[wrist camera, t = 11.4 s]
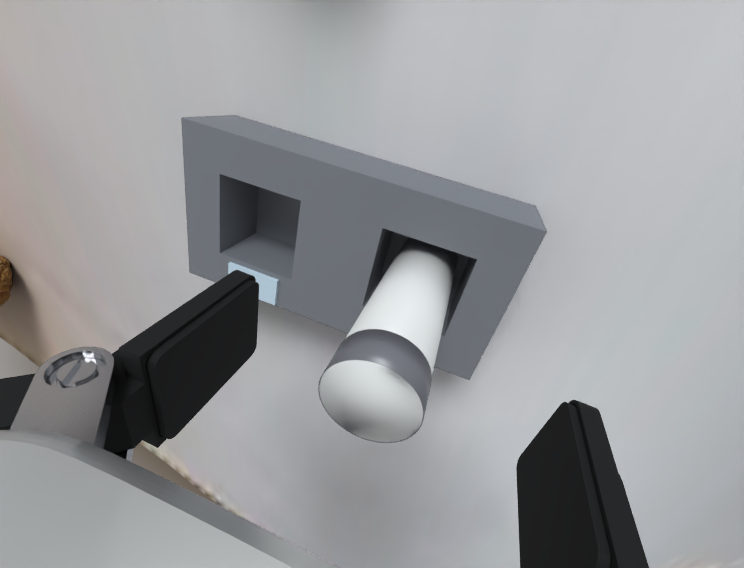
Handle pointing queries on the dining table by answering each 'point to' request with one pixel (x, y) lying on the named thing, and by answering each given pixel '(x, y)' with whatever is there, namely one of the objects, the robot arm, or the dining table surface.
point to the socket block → (346, 228)
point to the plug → (392, 348)
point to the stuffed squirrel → (5, 280)
